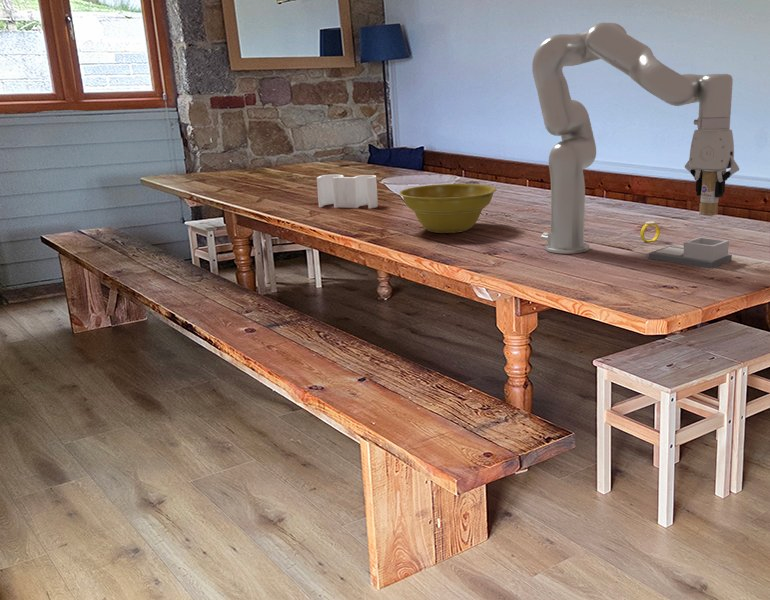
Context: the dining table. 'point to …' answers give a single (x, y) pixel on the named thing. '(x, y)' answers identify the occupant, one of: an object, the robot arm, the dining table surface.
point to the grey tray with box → (696, 253)
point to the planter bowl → (448, 205)
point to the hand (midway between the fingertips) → (709, 195)
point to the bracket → (347, 191)
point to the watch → (645, 228)
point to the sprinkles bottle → (709, 193)
